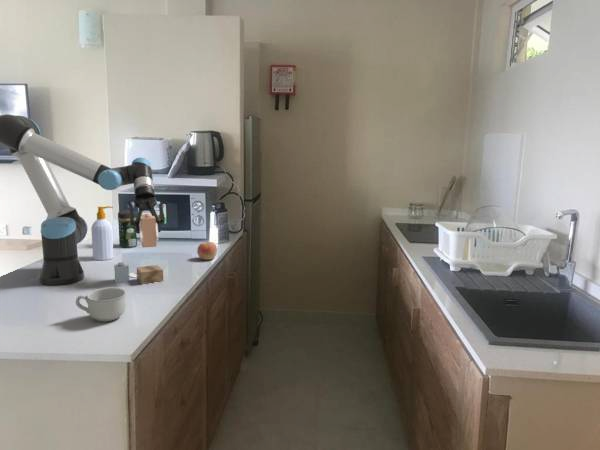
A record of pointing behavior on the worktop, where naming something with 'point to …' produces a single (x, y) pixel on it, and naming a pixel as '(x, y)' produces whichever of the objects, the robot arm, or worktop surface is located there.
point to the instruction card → (133, 274)
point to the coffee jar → (126, 230)
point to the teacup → (104, 303)
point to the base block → (149, 274)
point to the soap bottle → (102, 237)
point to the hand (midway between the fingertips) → (149, 239)
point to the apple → (207, 251)
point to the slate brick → (121, 272)
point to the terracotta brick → (148, 230)
